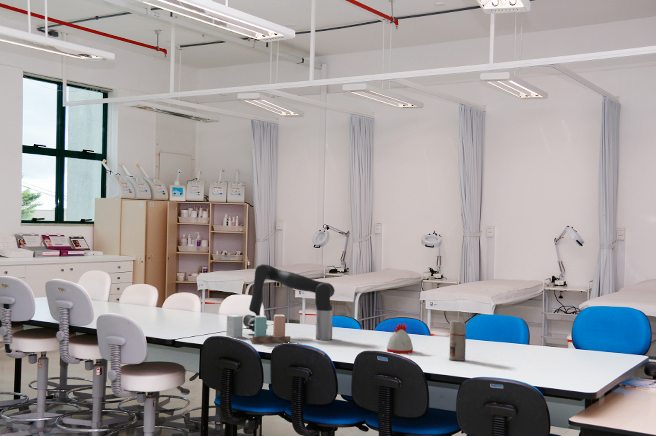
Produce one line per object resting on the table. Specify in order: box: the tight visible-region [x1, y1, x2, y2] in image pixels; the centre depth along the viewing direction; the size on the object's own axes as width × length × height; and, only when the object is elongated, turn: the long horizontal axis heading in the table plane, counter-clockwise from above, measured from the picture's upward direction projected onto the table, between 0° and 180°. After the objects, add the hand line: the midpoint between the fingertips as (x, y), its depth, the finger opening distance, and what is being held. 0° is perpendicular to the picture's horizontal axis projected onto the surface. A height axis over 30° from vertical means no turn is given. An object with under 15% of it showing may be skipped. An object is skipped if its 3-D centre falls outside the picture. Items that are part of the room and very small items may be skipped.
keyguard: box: [249, 335, 291, 345], centre depth 371 cm, size 21×15×5 cm
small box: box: [226, 314, 244, 338], centre depth 386 cm, size 8×6×13 cm
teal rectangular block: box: [253, 315, 268, 337], centre depth 367 cm, size 6×5×14 cm
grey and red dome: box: [386, 323, 414, 355], centre depth 353 cm, size 14×14×15 cm
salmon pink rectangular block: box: [272, 314, 286, 336], centre depth 374 cm, size 6×5×14 cm
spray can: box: [448, 319, 467, 361], centre depth 332 cm, size 8×8×20 cm
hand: (259, 328), depth 373 cm, fingers closed
